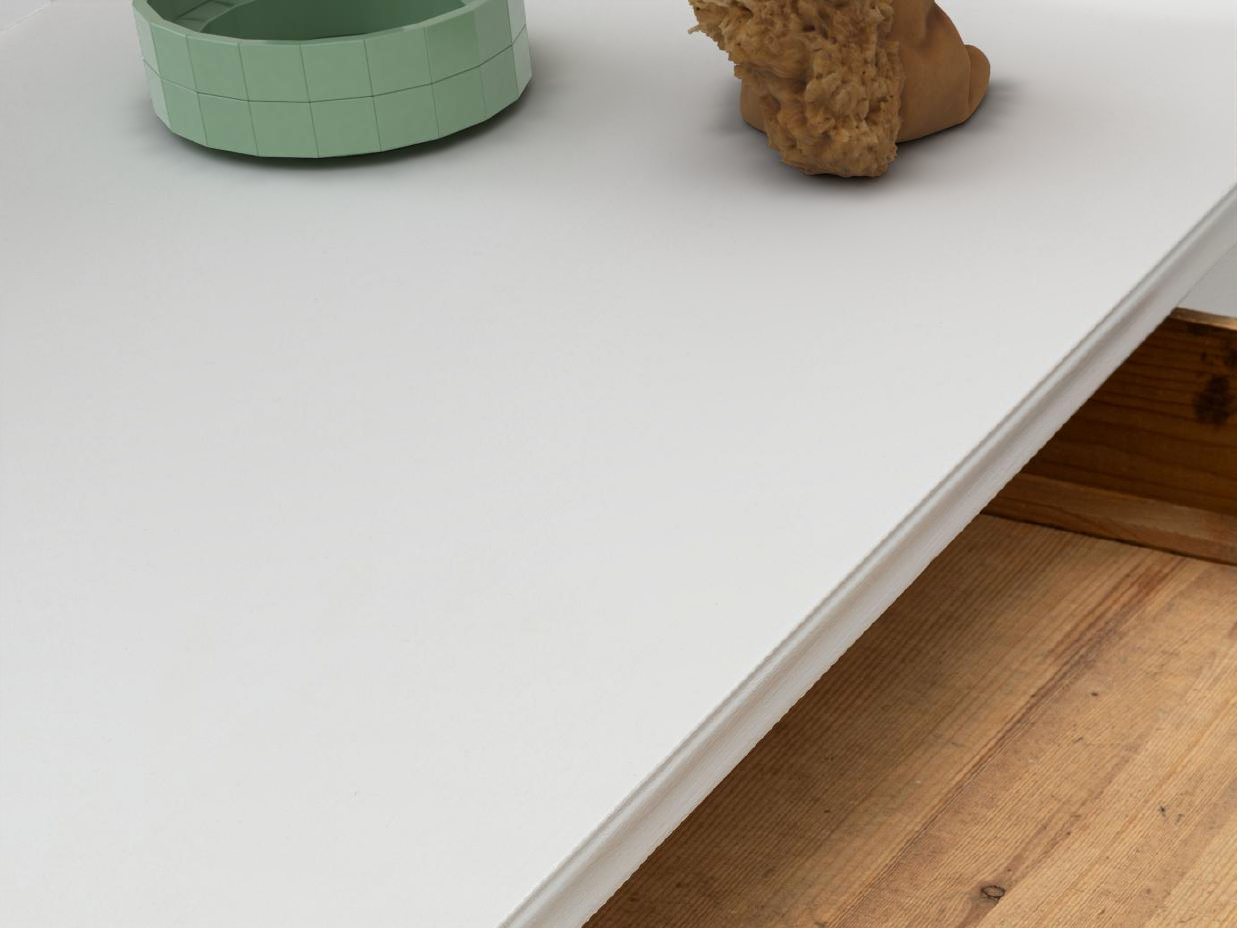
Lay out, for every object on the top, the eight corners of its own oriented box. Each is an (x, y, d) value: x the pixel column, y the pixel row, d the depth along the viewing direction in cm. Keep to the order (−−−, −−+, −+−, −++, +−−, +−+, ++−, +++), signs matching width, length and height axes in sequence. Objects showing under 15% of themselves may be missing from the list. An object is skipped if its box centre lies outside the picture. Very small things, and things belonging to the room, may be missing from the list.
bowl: (103, 167, 101) (74, 41, 98) (226, 28, 113) (205, -88, 109) (482, 177, 99) (465, 48, 96) (567, 35, 111) (555, -84, 108)
